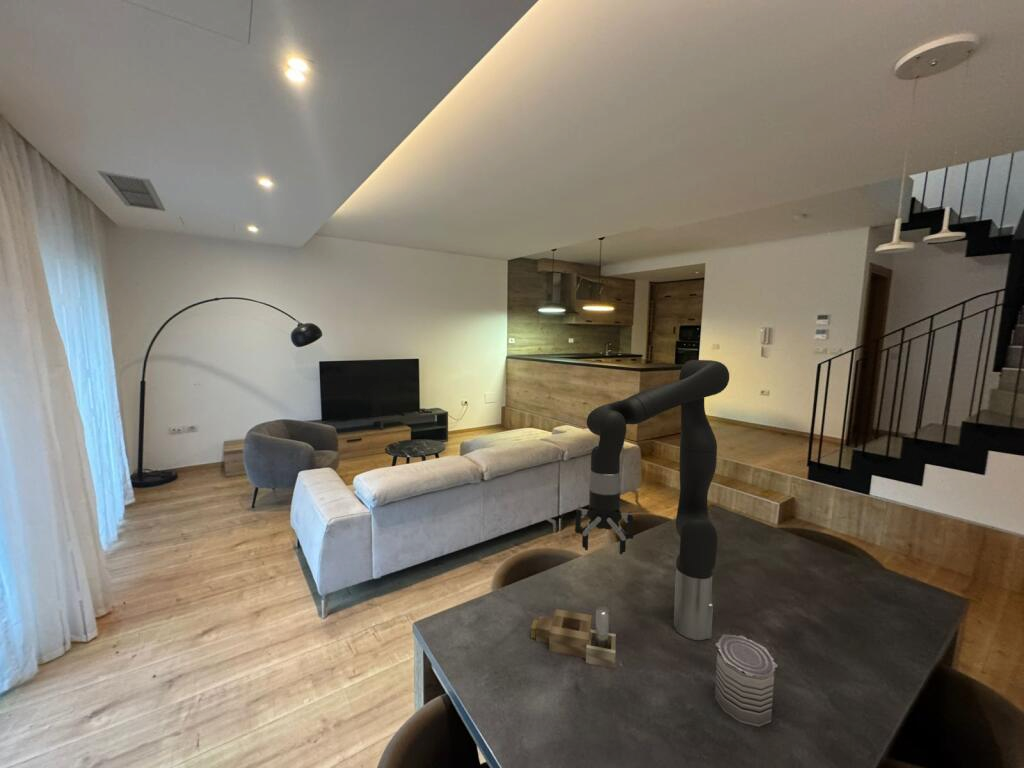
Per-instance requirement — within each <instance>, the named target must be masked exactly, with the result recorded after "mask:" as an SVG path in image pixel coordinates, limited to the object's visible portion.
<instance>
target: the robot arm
mask: <svg viewBox="0 0 1024 768" xmlns="http://www.w3.org/2000/svg"><path fill="white" fill-rule="evenodd" d="M729 371H730V370H728V367H727V365H725V364H724V363H722V362H720V361H716V360H709V359H691V360H687V361H686V362H685V363H684V364H683V365H682V366H681V369H680V372H679V377H678V380H677V381H673V382H669V383H666V384H665V383H664V384H662V385H657V386H654V387H650V388H647V389H645V390H642V391H640V392H637V393H635V394H633V395H631V396H628V397H627V398H625V399H622V400H618V401H614V402H611V403H610V402H609V403H607V404H603V405H600V406H598V407H596V408H594V409H593V410H592V411H590V413H588V416H587V417H586V427H587V428H588V430H589V431H590V432H591V433H592V434H594V435H596V436H598V437H599V442H598V445H597V446H594V447H593V448H592V449H591V454H590V473H589V485H588V489H589V490H588V491H589V495H588V496H589V498H588V499H589V500H588V508H587V509H586V508H582V507H581V506H578V507H577V508H576V512H575V513H576V514H575V526H574V532H575V534H580V535H581V536H582V537H581V538H582V539H581V540H582V541H581V545H582V546H581V547H582V548H584V551H589V533H590V532H591V531H593V530H594V529H595V528H597V529H599V530H603V529H604V530H607V531H608V530H609V531H610V530H612V529H613V531H614V532H615V534H617V536H618V538H619V555H623V553H626V544H627V543H626V542H627V540H633V539H634V517H633V512H632V511H628V512H621V489H622V488H621V475H620V472H621V471H620V470H621V469H620V468H621V467H620V466H621V465H620V464H621V453H622V451H623V447H624V443H625V438H626V434H627V425H639V424H641V423H643V422H645V421H647V420H649V419H652V418H654V417H655V416H658V415H660V414H663V413H664V412H667V411H670V410H672V409H674V408H676V407H679V406H680V443H679V498H678V503H677V504H678V505H677V511H676V517H675V527H676V528H675V529H676V531H677V534H678V535H679V540H680V542H679V554H678V555H677V557H676V559H675V561H676V564H675V580H674V581H675V582H674V583H675V584H674V585H675V587H674V608H673V628H674V629H675V631H676V632H677V633H678V634H679V635H681V636H683V637H685V638H687V639H690V640H695V641H703V640H708V639H709V640H712V631H713V616H714V615H713V613H714V606H713V602H712V592H713V591H712V590H713V589H712V587H713V575H714V574H713V572H714V568H715V566H716V563H717V553H718V552H717V551H718V532H717V529H716V527H715V526H714V524H713V523H712V521H711V520H710V518H709V513H708V512H709V510H708V494H709V489H710V488H711V487H710V486H711V484H712V481H713V478H714V476H715V472H716V468H717V455H718V444H717V439H716V436H715V433H714V431H713V429H712V427H711V424H710V422H709V420H708V417H707V414H706V409H705V398H707V397H711V396H716V395H718V394H720V393H722V392H723V391H724V390H725V389H726V387H727V386H728V384H729V382H730V372H729ZM586 515H587V517H588V519H589V521H588V522H587V524H586V525H585V526H584V527H582V526H581V525H582V519H584V518H585V516H586ZM622 519H623V520H624V522H625V523H627V531H624V529H623V528H622V526H621V525H620V523H619V522H620V521H621V520H622Z"/></svg>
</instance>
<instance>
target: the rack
mask: <svg viewBox="0 0 1024 768" xmlns="http://www.w3.org/2000/svg"><path fill="white" fill-rule="evenodd" d="M595 633H596V629H592V628H591V629H590V637H589V644H587V645H586V658H585V663H586V664H590V665H596V666H601V667H605V668H610V669H616V640H617V639H616V637H617V636H616V635H617V634H616V633H611V632H608V649H606V648H601V647H595Z"/></svg>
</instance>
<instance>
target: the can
mask: <svg viewBox="0 0 1024 768" xmlns="http://www.w3.org/2000/svg"><path fill="white" fill-rule="evenodd" d="M715 646H716V649H717V653H716V654H717V655H716V668H715V669H716V670H715V671H716V672H715V685H714V687H715V688H714V689H715V691H714V699H715V700H716V702H717V703H718V705H719V706H720V708H721V710H722V711H723V712H724V713H726V714H727V715H729V716H730V717H732V718H734V719H735V720H736V721H737V722H739V723H741V724H746V725H749V726H755V727H758V728H759V727H762V726H764V725H766V724H768V723H771V722H772V716H773V715H772V713H773V702H774V701H773V698H774V687H775V686H774V684H775V671H776V670H777V667H779V665H778V663H777V662H776V661H775V659H774V658H773V657H772V655H771V654H770V653H769V651H768V650H767V648H766V647H765V646H762V644H759V643H758V642H755V641H753V640H751V639H750V638H748V637H746V636H745V635H737V634H724V633H723V634H722V635H721V636H720V638H719V639H717V642H716V643H715Z"/></svg>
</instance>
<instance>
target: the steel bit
mask: <svg viewBox="0 0 1024 768" xmlns="http://www.w3.org/2000/svg"><path fill="white" fill-rule="evenodd" d="M609 625H610V610H609V608H607V607H605V606H598V607H596V610H595V630H596V633H595V647H601V648H606V649H608V633H610V631H609V628H610V626H609Z"/></svg>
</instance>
